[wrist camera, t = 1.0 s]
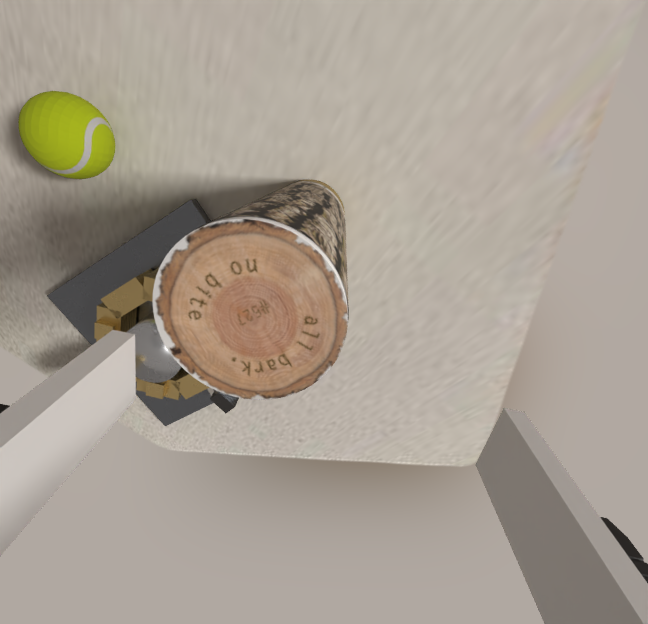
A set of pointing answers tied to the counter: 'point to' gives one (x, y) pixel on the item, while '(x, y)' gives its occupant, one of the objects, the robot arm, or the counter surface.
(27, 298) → the counter surface
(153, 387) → the ring nut
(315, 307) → the bark textured cylinder
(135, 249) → the housing
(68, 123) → the tennis ball
